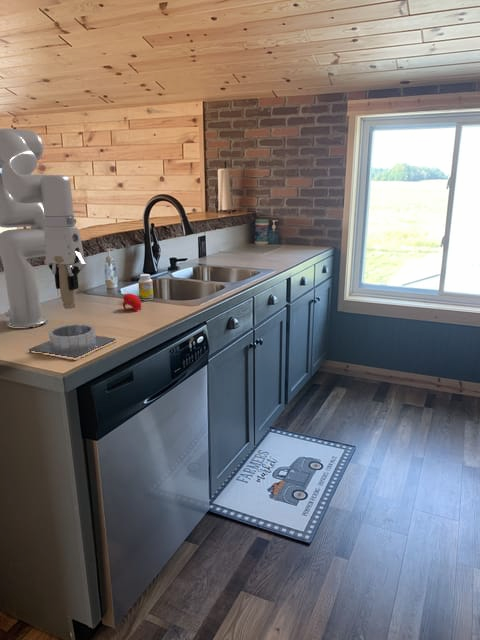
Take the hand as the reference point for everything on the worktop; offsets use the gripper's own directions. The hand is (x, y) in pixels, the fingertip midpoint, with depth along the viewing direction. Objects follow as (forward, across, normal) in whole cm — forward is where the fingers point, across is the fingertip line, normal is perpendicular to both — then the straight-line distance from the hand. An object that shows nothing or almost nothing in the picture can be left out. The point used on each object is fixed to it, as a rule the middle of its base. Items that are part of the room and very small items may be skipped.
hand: (67, 287), depth 134 cm
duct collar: (+18, 0, 0) cm, 18 cm away
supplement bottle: (+18, +13, -56) cm, 60 cm away
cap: (+18, +9, -41) cm, 46 cm away
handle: (+6, 0, 0) cm, 6 cm away
